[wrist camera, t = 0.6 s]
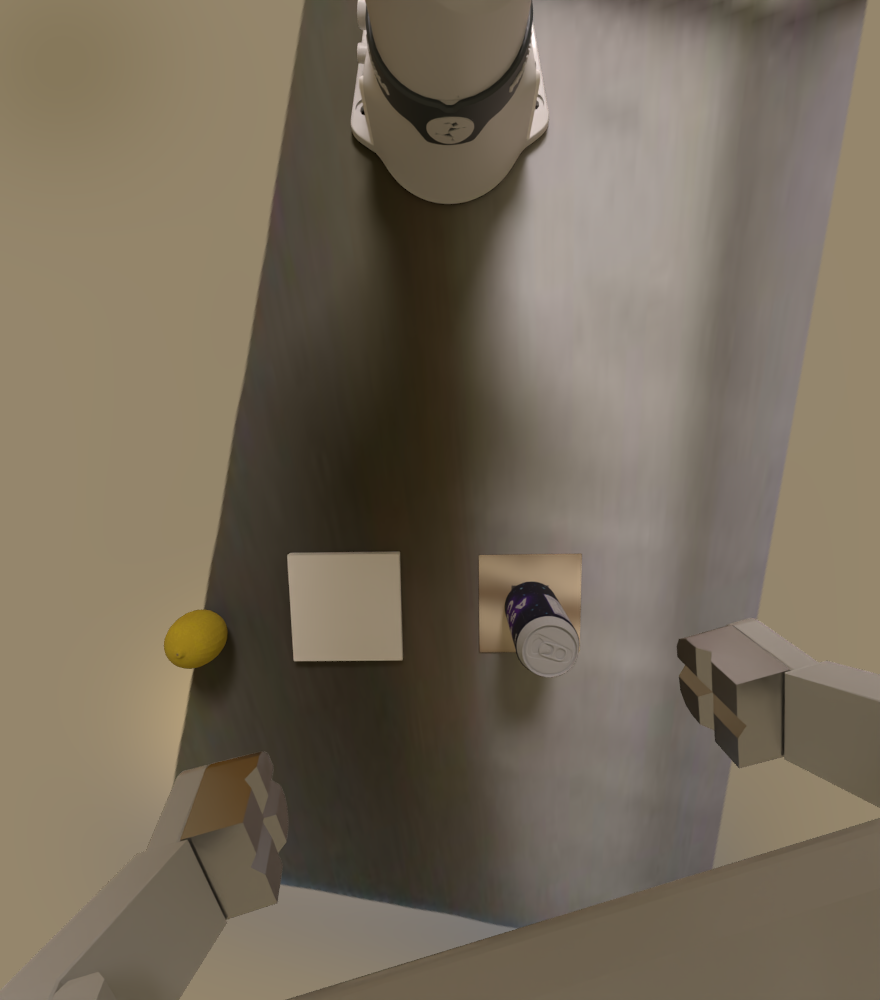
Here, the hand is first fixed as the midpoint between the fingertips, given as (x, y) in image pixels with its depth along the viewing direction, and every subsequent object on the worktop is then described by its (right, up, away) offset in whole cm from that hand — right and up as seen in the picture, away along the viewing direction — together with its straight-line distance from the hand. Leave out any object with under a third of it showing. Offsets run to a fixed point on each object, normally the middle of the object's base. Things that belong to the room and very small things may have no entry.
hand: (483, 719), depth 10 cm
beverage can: (+9, -7, +48) cm, 49 cm away
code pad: (+9, -7, +48) cm, 49 cm away
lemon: (-26, -10, +49) cm, 56 cm away
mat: (-11, -7, +48) cm, 50 cm away
